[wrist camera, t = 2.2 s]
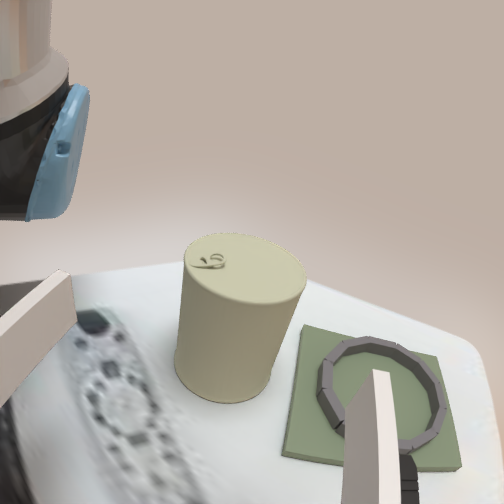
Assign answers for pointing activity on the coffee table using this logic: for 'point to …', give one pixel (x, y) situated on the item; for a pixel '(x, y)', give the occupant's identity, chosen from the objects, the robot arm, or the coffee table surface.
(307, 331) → the deck mount
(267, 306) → the can
